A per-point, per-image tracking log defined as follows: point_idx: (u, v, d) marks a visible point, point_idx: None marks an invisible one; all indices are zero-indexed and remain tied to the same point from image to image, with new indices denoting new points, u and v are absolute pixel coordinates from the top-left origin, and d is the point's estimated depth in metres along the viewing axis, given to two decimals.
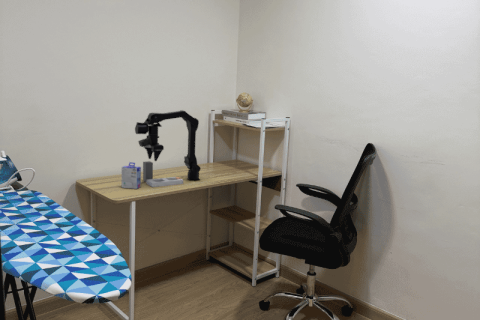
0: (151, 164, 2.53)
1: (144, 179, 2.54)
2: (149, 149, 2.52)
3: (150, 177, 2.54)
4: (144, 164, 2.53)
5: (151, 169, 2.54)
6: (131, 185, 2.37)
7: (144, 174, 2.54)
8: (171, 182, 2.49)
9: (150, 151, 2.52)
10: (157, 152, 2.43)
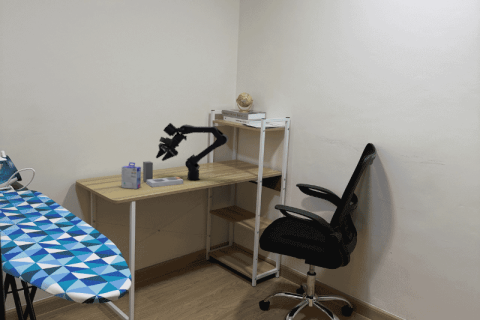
0: (151, 164, 2.53)
1: (144, 179, 2.54)
2: (162, 151, 2.63)
3: (150, 177, 2.54)
4: (144, 164, 2.53)
5: (151, 169, 2.54)
6: (131, 185, 2.37)
7: (144, 174, 2.54)
8: (171, 182, 2.49)
9: (161, 153, 2.63)
10: (169, 155, 2.54)
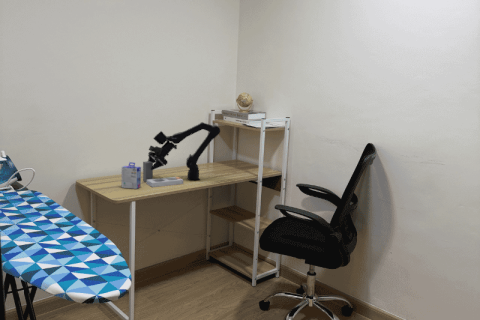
0: (151, 164, 2.53)
1: (144, 179, 2.54)
2: (151, 159, 2.60)
3: (150, 177, 2.54)
4: (144, 164, 2.53)
5: None
6: (131, 185, 2.37)
7: (144, 174, 2.54)
8: (171, 182, 2.49)
9: (151, 161, 2.60)
10: (158, 164, 2.52)
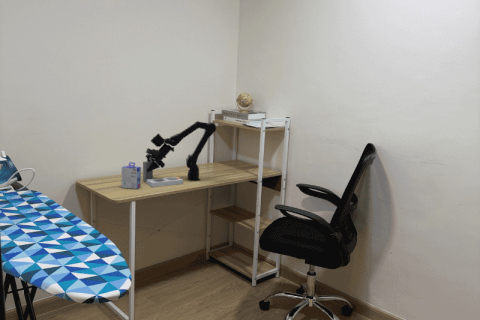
0: None
1: (144, 179, 2.54)
2: None
3: (150, 177, 2.54)
4: (144, 164, 2.53)
5: None
6: (131, 185, 2.37)
7: (144, 174, 2.54)
8: (171, 182, 2.49)
9: None
10: (154, 166, 2.53)
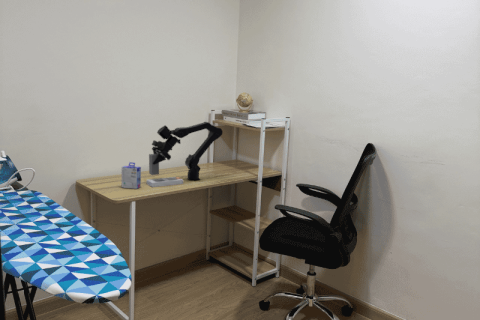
0: None
1: (150, 172, 2.50)
2: None
3: (156, 170, 2.50)
4: (150, 156, 2.48)
5: None
6: (131, 185, 2.37)
7: (150, 167, 2.50)
8: (171, 182, 2.49)
9: None
10: (160, 158, 2.48)
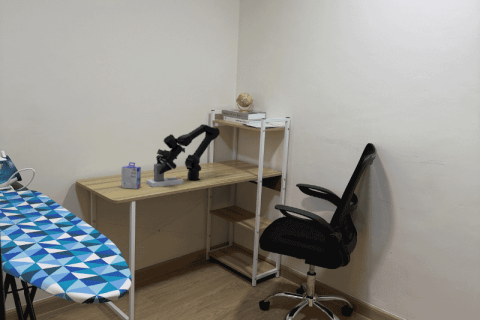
0: (162, 166, 2.46)
1: None
2: (160, 163, 2.52)
3: (161, 180, 2.48)
4: (155, 166, 2.46)
5: None
6: (131, 185, 2.37)
7: (155, 177, 2.47)
8: (171, 182, 2.49)
9: None
10: (167, 168, 2.45)
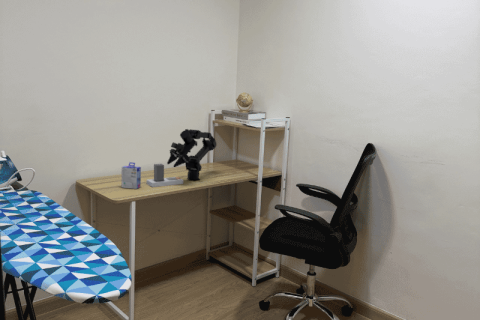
0: (162, 166, 2.46)
1: None
2: (173, 156, 2.57)
3: (161, 180, 2.48)
4: (155, 166, 2.46)
5: (162, 172, 2.47)
6: (131, 185, 2.37)
7: (155, 177, 2.47)
8: (171, 182, 2.49)
9: (172, 158, 2.57)
10: (181, 161, 2.49)
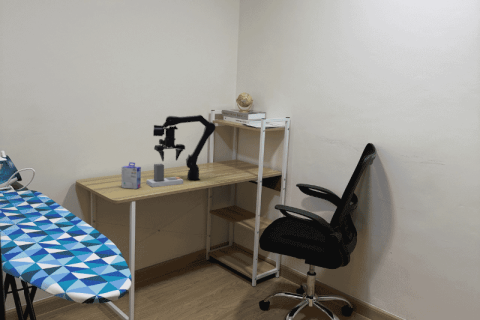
0: (162, 166, 2.46)
1: None
2: (177, 151, 2.62)
3: (161, 180, 2.48)
4: (155, 166, 2.46)
5: (162, 172, 2.47)
6: (131, 185, 2.37)
7: (155, 177, 2.47)
8: (171, 182, 2.49)
9: (177, 153, 2.62)
10: (161, 153, 2.56)
